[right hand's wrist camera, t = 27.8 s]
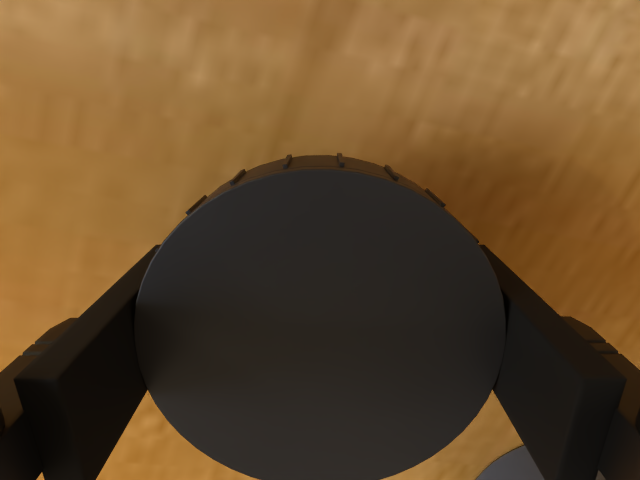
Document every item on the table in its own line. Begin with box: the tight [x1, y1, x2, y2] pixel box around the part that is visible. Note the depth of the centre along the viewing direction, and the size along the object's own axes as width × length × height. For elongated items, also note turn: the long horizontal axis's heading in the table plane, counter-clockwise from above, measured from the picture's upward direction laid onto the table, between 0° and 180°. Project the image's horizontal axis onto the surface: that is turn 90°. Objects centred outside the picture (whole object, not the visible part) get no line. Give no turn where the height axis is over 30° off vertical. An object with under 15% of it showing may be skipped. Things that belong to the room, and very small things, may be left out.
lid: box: [134, 153, 506, 480], centre depth 11 cm, size 9×9×2 cm
